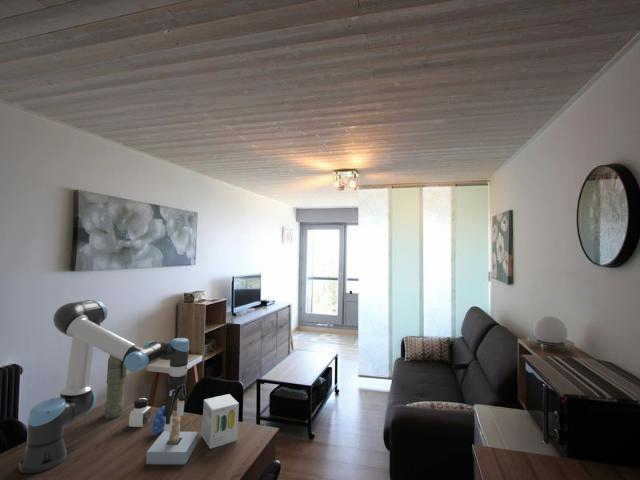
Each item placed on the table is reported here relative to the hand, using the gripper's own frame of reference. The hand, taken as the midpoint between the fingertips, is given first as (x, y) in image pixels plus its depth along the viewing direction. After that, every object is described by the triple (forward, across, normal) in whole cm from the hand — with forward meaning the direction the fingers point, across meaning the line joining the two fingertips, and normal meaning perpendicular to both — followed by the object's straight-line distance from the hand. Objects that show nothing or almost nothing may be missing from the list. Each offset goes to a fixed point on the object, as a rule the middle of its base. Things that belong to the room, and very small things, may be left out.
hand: (174, 422), depth 144 cm
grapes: (+13, +17, +13) cm, 25 cm away
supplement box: (+13, +12, -18) cm, 25 cm away
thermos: (+14, +34, +44) cm, 58 cm away
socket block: (+13, 0, -1) cm, 13 cm away
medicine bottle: (+14, +25, +26) cm, 39 cm away
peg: (+12, 0, -1) cm, 12 cm away
